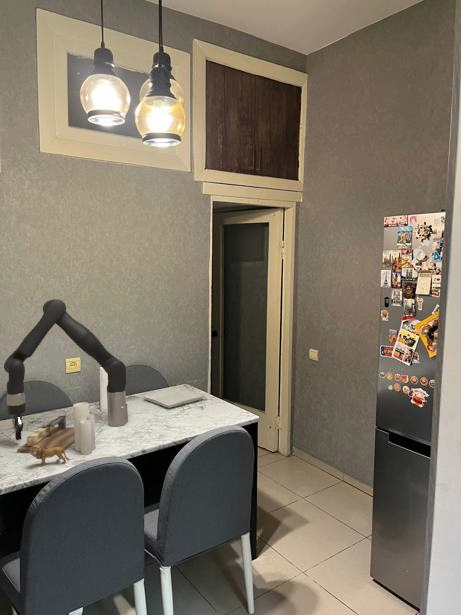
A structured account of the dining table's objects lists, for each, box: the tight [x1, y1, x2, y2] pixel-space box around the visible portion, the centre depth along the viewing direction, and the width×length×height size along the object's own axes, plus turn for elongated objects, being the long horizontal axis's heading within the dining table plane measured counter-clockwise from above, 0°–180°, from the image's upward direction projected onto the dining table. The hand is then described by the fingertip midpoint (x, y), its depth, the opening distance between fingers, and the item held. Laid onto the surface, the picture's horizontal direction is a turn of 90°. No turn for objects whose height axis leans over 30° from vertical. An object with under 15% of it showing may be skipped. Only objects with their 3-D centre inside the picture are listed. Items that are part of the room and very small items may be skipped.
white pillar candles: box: [72, 401, 96, 456], centre depth 202 cm, size 11×7×20 cm, turn 46°
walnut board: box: [17, 415, 75, 454], centre depth 213 cm, size 20×28×8 cm
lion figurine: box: [30, 445, 71, 467], centre depth 188 cm, size 15×5×9 cm, turn 115°
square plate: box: [142, 387, 206, 409], centre depth 274 cm, size 27×27×4 cm
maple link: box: [26, 423, 50, 446], centre depth 211 cm, size 16×4×4 cm, turn 174°
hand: (18, 439), depth 210 cm, fingers closed
